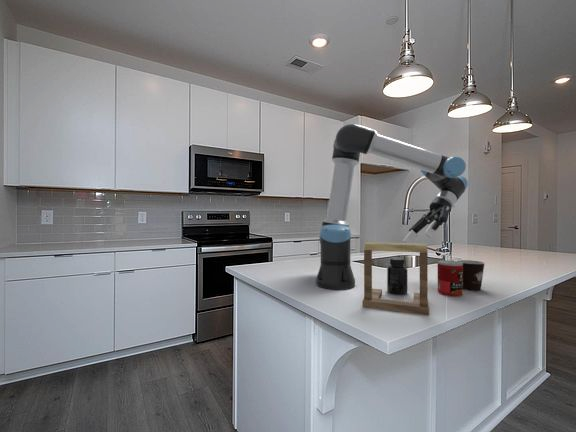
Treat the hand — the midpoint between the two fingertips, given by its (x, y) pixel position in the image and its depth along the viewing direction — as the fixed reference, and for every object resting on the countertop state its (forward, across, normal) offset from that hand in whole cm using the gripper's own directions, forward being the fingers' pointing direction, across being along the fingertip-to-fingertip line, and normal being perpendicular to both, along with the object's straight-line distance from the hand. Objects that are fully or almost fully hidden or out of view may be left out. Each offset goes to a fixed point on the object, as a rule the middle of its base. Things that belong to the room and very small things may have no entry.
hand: (416, 239), depth 112 cm
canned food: (+11, -6, -19) cm, 22 cm away
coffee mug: (+2, -2, -25) cm, 25 cm away
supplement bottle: (+22, -1, -6) cm, 23 cm away
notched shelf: (+29, -11, -3) cm, 32 cm away
